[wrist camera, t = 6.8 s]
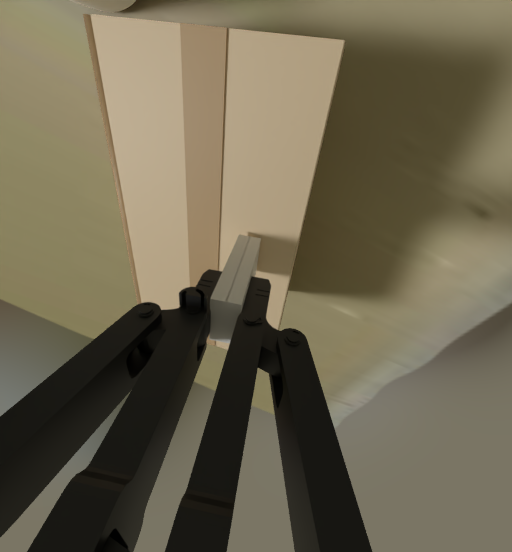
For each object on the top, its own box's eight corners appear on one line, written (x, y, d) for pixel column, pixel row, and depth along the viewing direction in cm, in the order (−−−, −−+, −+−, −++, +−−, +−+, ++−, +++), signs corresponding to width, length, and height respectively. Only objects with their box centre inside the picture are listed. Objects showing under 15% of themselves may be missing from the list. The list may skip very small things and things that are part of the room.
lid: (143, 309, 28) (135, 316, 27) (91, 17, 15) (74, 12, 14) (272, 356, 25) (269, 366, 24) (346, 43, 12) (344, 39, 11)
